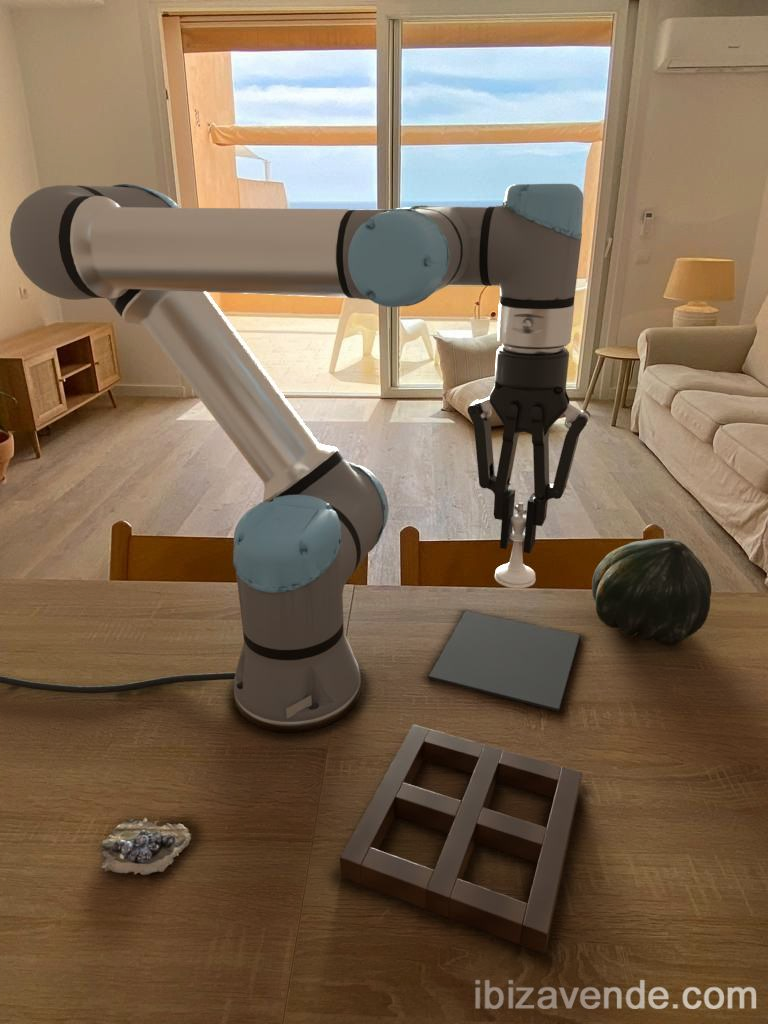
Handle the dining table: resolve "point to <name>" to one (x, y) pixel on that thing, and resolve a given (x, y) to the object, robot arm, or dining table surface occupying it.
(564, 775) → the holder
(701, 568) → the squash
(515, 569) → the chess piece
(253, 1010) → the dining table surface
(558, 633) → the mat
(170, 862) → the blueberries
